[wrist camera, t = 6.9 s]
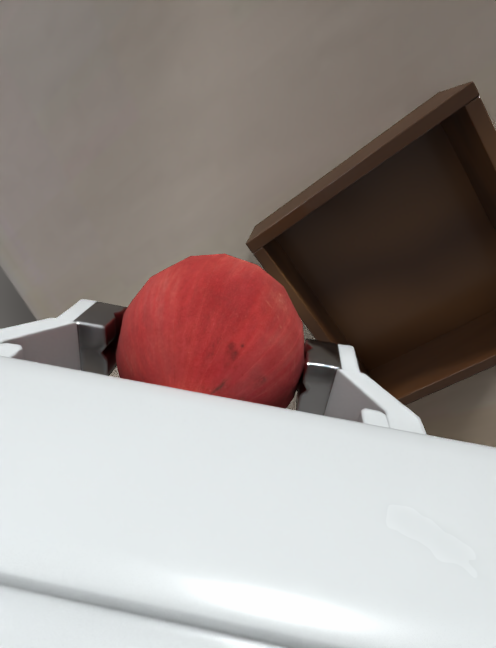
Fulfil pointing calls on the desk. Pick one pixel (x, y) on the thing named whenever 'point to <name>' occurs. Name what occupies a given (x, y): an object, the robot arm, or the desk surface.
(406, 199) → the wooden box
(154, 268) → the desk surface
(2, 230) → the desk surface
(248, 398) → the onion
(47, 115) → the desk surface
